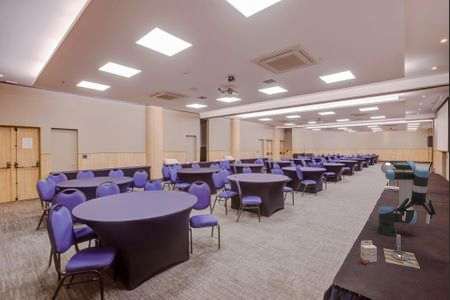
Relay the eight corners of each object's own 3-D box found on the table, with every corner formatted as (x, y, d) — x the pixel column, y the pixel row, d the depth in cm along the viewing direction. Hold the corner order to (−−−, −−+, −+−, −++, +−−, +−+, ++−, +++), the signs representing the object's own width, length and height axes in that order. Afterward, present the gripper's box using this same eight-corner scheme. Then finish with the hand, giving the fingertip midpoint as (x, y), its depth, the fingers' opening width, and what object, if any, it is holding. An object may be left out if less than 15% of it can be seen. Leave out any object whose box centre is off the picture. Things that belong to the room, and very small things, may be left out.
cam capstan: (390, 250, 171) (389, 232, 170) (407, 253, 166) (407, 235, 165) (392, 260, 156) (392, 241, 156) (411, 264, 151) (411, 244, 151)
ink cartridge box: (365, 264, 156) (364, 243, 156) (360, 261, 161) (360, 240, 161) (377, 264, 157) (377, 242, 156) (372, 260, 161) (372, 239, 161)
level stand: (383, 250, 175) (383, 247, 175) (413, 255, 166) (413, 252, 166) (386, 263, 156) (385, 261, 156) (420, 270, 147) (420, 267, 147)
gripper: (399, 190, 156) (396, 220, 158) (445, 195, 148) (440, 227, 150) (395, 188, 163) (391, 216, 165) (438, 192, 155) (434, 222, 158)
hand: (415, 221), depth 158 cm, fingers open, 13 cm apart
